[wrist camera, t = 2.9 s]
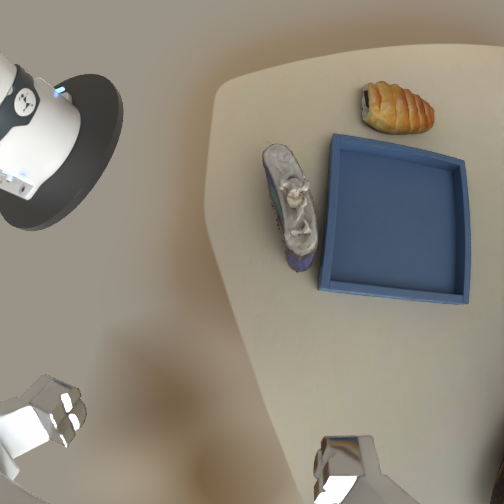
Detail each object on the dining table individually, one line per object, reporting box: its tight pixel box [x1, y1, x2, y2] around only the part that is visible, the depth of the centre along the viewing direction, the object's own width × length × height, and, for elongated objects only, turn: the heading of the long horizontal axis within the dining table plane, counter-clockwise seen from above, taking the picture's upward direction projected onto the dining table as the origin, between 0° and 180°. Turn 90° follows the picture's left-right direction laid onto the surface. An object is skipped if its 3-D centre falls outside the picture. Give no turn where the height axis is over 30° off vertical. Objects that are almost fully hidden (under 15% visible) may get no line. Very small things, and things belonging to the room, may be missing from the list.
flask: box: [262, 144, 318, 273], centre depth 25 cm, size 9×3×11 cm, turn 13°
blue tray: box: [318, 134, 471, 305], centre depth 28 cm, size 16×16×3 cm
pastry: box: [362, 81, 434, 134], centre depth 29 cm, size 9×7×4 cm
